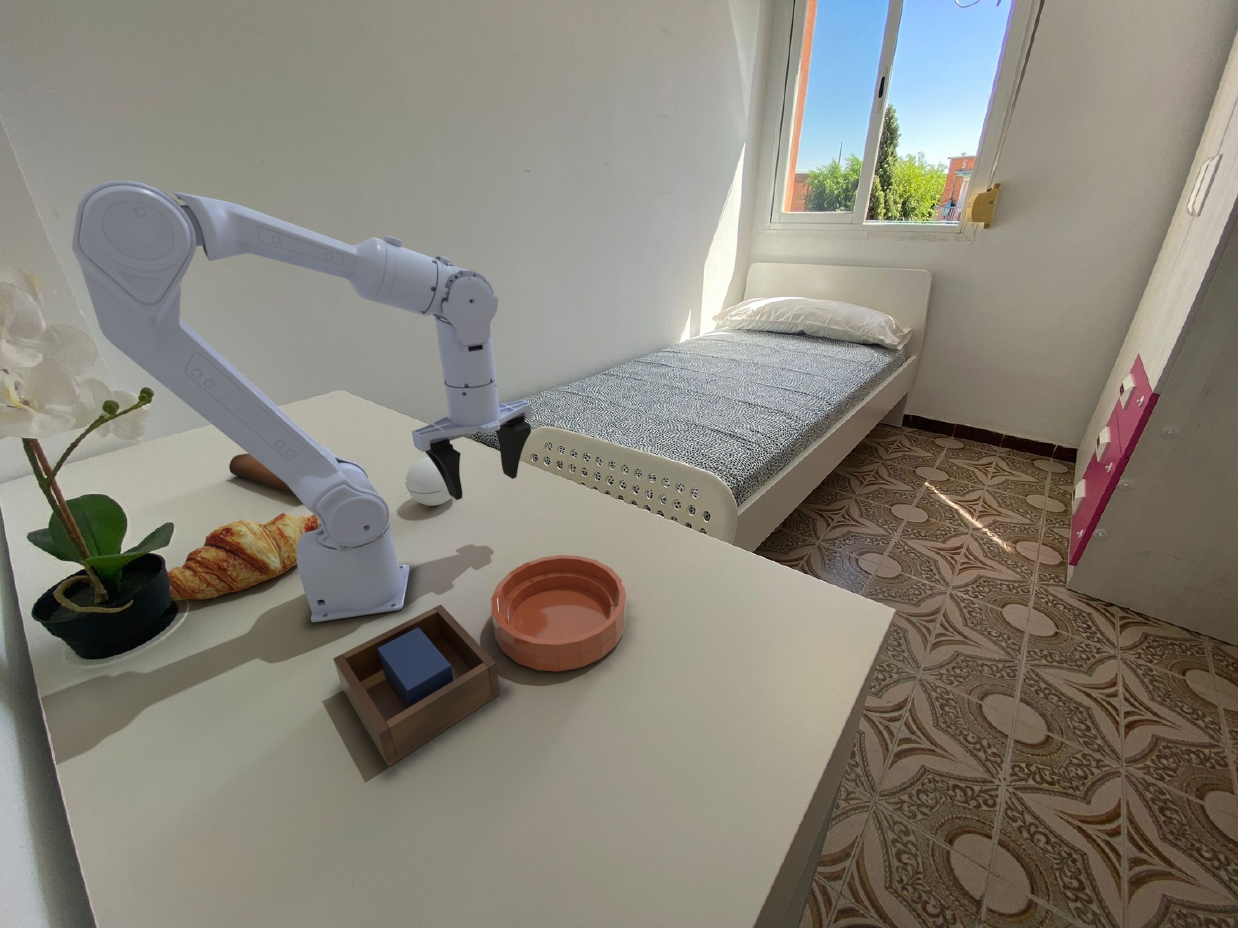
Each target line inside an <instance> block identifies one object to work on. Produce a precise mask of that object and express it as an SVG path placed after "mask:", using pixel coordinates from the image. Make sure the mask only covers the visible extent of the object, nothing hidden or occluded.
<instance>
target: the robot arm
mask: <svg viewBox="0 0 1238 928" xmlns="http://www.w3.org/2000/svg"><path fill="white" fill-rule="evenodd" d="M172 193H173V195H174V196H175V197H176V198H177V199H178V200H180V201H182V202H184V203H185V204H180V203H179V202H178V201H177V200H175V198H173V197H172V196H171V195H169V194H168V193H167V192H165V191H163V190H162V189H159V188H158V187H155V186H153V185H151V184H146V183H144V182H138V181H133V180H117V179H116V180H110V181H105V182H102V183H99V184H97V185H95V186H93V187H91V188H90V189H89V190H87V191H86V192H85V193H84V195H83V196H82V197H81V199H80V201H79V203H78V205H77V209H76V214H75V220H74V229H73V236H72V242H71V250H72V252H73V254H74V256H75V258H76V261H77V263H78V265H79V267H80V269H81V272H82V273H81V274H82V276H83V279H84V282H85V285H86V289H87V291H88V294H89V297H90V301H91V304H92V307H93V310H94V313H95V317H96V320H97V323H98V326H99V329H100V331H101V334H102V335H103V336H104V337H105V338H106V339H107V340H108V342H109V343H110V344H111V345H113V346H114V347H115V348H116V349H117V350H119V351H121V352H122V353H123V354H124V355H125V356H126V357H128V358H129V359H130V360H131V361H133V362H134V363H135V364H136V365H138V366H139V367H140V368H141V369H142V370H144V371H145V372H147V374H149V375H150V376H151V377H153V378H154V379H155V380H156V381H158V382H159V383H160V384H161V385H163V386H164V387H165V388H167V389H168V390H169V391H170V392H172V393H173V394H174V395H175V396H176V397H177V398H179V399H180V400H181V401H183V402H184V403H185V404H186V405H187V406H188V407H190V408H191V409H193V411H194V412H196V413H197V414H199V415H200V416H201V417H202V418H204V420H206V421H207V422H209V423H210V424H211V425H213V426H214V427H215V428H216V429H217V430H219V431H220V432H221V433H222V434H223V435H225V436H226V437H227V438H228V439H230V440H231V441H232V442H234V444H236V445H238V447H240V448H241V449H243V450H244V451H245V452H246V454H248V453H249V454H250V455H251V456H252V457H254V458H255V459H256V460H257V461H259V462H260V463H261V464H262V465H264V466H265V467H266V468H267V469H269V470H270V471H271V472H272V473H274V474H275V475H276V476H277V477H279V478H280V479H281V480H282V481H284V482H285V483H286V484H287V485H288V486H289V487H290V489H291V490H292V491H293V492H294V493H295V495H296V496H297V497H296V496H295V497H296V498H298V500H299V501H300V502H301V504H302V505H303V506H304V507H305V508H306V509H307V510H308V511H309V512H311V513H312V515H313V514H314V515H316V516H317V518H318V519H319V520H320V522H319V525H318V529H317V530H314V531H310V532H306V533H304V534H302V535H301V537H300V539H299V542H298V546H297V564H296V567H297V571H298V572H297V573H298V575H299V578H300V579H299V580H300V581H301V584H302V587H303V590H304V594H305V596H306V600H307V602H308V605H309V609H310V612H311V615H310V620H311V623H319V622H320V623H321V622H326V621H332V620H339V619H347V618H353V617H360V616H367V615H373V614H380V613H388V612H395V611H400V610H402V608H403V607H404V605H405V604H404V603H405V598H406V593H407V587H408V581H409V577H410V575H409V574H410V569H411V568H410V565H409V564H400V563H399V558H398V555H397V550H396V545H395V541H394V536H393V533H392V529H391V524H390V508H389V505H388V503H387V502H386V500H385V499H384V497H383V496H381V494H379V493H378V491H377V490H376V488H375V487H374V485H373V484H372V482H371V481H370V479H369V476H368V475H367V472H366V471H365V469H364V468H363V467H362V466H361V465H359V464H358V463H356V462H354V461H352V460H349V459H345V458H342V457H340V456H338V455H336V454H335V453H333V452H332V451H331V450H330V449H329V448H328V447H326V446H324V445H322V444H321V443H319V442H317V441H316V440H315V439H314V438H313V437H312V436H311V435H310V434H309V433H308V432H306V430H304V429H303V428H302V427H301V426H300V425H299V424H298V423H297V422H296V421H294V420H293V419H292V418H291V417H290V416H289V415H288V414H287V413H286V412H285V411H283V409H281V408H280V407H279V406H278V405H277V404H276V403H274V402H273V401H272V400H271V399H270V398H269V397H268V396H267V395H266V394H265V393H264V392H262V390H260V389H259V388H258V387H257V386H256V385H255V384H254V383H252V382H251V381H250V380H249V379H248V378H247V377H246V376H245V375H244V374H243V373H241V371H239V370H238V369H237V368H236V367H235V366H234V365H233V364H231V362H230V361H228V360H227V359H226V358H225V357H224V356H223V355H222V354H221V353H219V352H218V350H216V349H215V348H214V347H213V346H212V345H211V344H210V343H208V342H207V341H206V340H205V338H203V337H202V336H201V335H199V334H198V333H197V331H195V330H194V329H193V328H192V327H191V326H190V325H188V324H187V322H186V321H184V320H183V318H182V317H181V300H182V299H181V298H182V295H181V294H182V289H181V284H182V281H183V278H184V277H185V275H186V273H187V272H188V270H189V267H190V265H191V263H192V261H193V258H194V256H195V253H196V249H197V247H200V246H202V249H203V252H204V254H205V256H206V258H207V260H208V261H209V262H213V261H216V260H221V259H227V258H232V257H236V256H240V255H241V256H242V255H245V254H246V255H247V254H249V255H255V256H258V257H263V258H266V259H270V260H274V261H277V262H281V263H286V264H289V265H292V266H296V267H301V268H304V269H308V270H311V271H316V272H319V273H322V274H327V275H331V276H335V277H338V278H342V279H345V280H347V281H348V282H349V284H350V285H351V286H352V288H353V290H354V291H355V292H356V295H358V297H359V298H361V299H363V300H366V301H371V302H374V303H378V304H382V305H385V306H389V307H393V308H396V309H400V310H403V311H406V312H410V313H414V314H418V315H421V316H426V317H427V316H433V317H434V320H435V326H436V332H437V333H436V334H437V344H438V350H439V359H440V362H441V364H440V365H441V370H442V377H443V385H444V392H445V397H446V404H447V405H446V406H447V412H448V415H446V416H444V417H442V418H440V419H437V420H436V421H433V422H431V423H429V424H427V425H425V426H421V427H419V428H417V429H414V430H411V435H412V441H413V445H414V447H415V448H416V449H417V450H419V451H420V452H422V453H425V454H426V455H427V457H429V458H430V459H431V460H432V462H433V463H434V464H435V466H436V467H437V469H438V471H439V472H440V474H441V476H442V478H443V480H444V482H445V484H446V487H447V489H448V492H449V495H451V496H452V497H451V498H453V499H455V500H456V501H459V500H461V499H463V488H462V487H463V486H462V481H461V476H460V475H461V473H460V464H461V462H460V461H461V454H462V453H461V452H460V451H458V450H457V449H455V448H454V444H453V443H451V441H455V440H458V439H461V438H463V437H468V436H470V435H471V436H472V435H473V434H477V433H484V434H491V433H493V432H495V433H496V437H497V440H498V441H497V442H498V446H499V452H500V461H501V469H502V472H503V474H504V475H505V476H507V477H508V478H510V479H512V480H514V479H516V478H517V477H518V472H519V471H518V470H519V465H520V460H521V457H522V453H523V449H524V447H525V445H526V442H527V440H528V438H529V437H530V435H531V434H532V425H531V424H530V423H529V422H527V421H526V420H530V419H532V418H533V409H532V408H533V407H532V403H530V401H526V400H525V399H520V400H516V401H509V402H503V403H500V402H499V393H498V382H497V371H496V361H495V353H494V345H493V344H494V343H493V337H492V328H491V323H492V321H493V319H494V318H495V316H496V313H497V310H498V307H499V298H498V296H496V295H495V294H494V290H493V288H492V285H491V284H490V282H489V281H487V280H486V277H485V276H483V275H482V274H480V273H479V272H476V271H474V270H469V269H466V268H462V267H459V266H456V265H454V264H453V263H450V261H451V260H450V259H449V257H446V256H443V255H440V254H437V255H436V256H435V257H432V256H428V255H426V254H423V253H421V252H417V251H414V250H412V249H409V248H407V247H403V246H402V245H403V240H402V239H400V238H397V237H395V236H392V235H388V234H387V235H386V234H385V235H384V237H383V239H381V238H379V237H375V236H371V237H369V238H367V239H366V238H365V240H363V241H361V242H358V243H356V244H354V245H353V244H350V243H347V242H344V241H341V240H338V239H335V238H333V237H331V236H327V235H325V234H321V233H319V232H316V231H313V230H311V229H307V228H305V227H302V226H299V225H296V224H294V223H291V222H288V221H285V220H282V219H280V218H277V217H274V216H272V215H269V214H266V213H263V212H260V211H257V210H255V209H253V208H249V207H246V206H244V205H240V204H239V203H234V202H230V201H227V200H222V199H217V198H213V197H212V198H211V197H206V196H201V195H197V194H190V193H185V192H179V191H175V190H173V191H172ZM399 564H400V565H399Z"/></svg>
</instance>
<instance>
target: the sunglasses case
mask: <svg viewBox="0 0 1238 928" xmlns="http://www.w3.org/2000/svg"><path fill="white" fill-rule="evenodd" d="M228 469H229V473H231V474H232V475H233V476H237V477H239V478H244V479H248V480H250V481H255V482H257V483H259V484H262V485H265V486H268V487H271V488H273V489H276V490H277V491H281V492H283V493H286V494H289V495H291V496H294V497H296V498H298V497H297V496H296V495H295V493H294V492H293V491H292V490H291V489H290V487H289V486H288V485H287V484H286V483H285V482H284V481H282V480H281V479H280V478H279V477H277V476H276V475H275V474H274V473H272V472H271V471H270V470H269V469H267V468H266V467H265V466H264V465H262V464H261V463H260V462H259V461H257V460H256V459H255V458H254V457H252V456H251V455H250V454H249V453H241V454H236V455H235V456H233V457H232V458H231V459H230V462H229V466H228Z"/></svg>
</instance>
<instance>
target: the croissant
mask: <svg viewBox="0 0 1238 928" xmlns="http://www.w3.org/2000/svg"><path fill="white" fill-rule="evenodd" d="M319 522H320V520H319V519H318V518H317V516H316V515H314V514H313V513H312V515H311V516H310V515H309V516H303V515H298V516H297V515H296V516H294V515H292V514H287V513H284V512H282V513H280V514H279V515H276V516H275V517H274V518H273V519H269V520H268V521H267V522H266V523H263V522H258V521H257V522H256V521H255V520H253V519H242V520H239V521H232V522H231V523H227V524H224V525H221V526H219V527H217V528H216V529H214V530H213V531H211V532H210V533H209V534H208V535H206V536H205V541H204V543H203V546H201V547H198V548H195V550H192V551H190V552H189V553H188V554H187V557H186V558H185V562H184V564H183V565H182V566H176V567H172V569H170V570H168V571H167V572H166V573H168V576H169V579H170V587H171V596H172V597H173V600H172V601H181V600H182V601H184V600H198V601H199V600H209V599H215V598H217V597H220V596H222V595H226V594H228V593H235V592H240V591H243V590H247V589H250V588H252V587H256V585H258V584H261V583H263V582H266V581H268V580H270V579H274V578H276V577H278V576H280V575H282V574H284V573H286V572H287V571H288V570H290V569H291V568H293V567H294V566H297V546H298V542H299V539H300V537H301V535H302V534H304V533H306V532H310V531H314V530H317V529H318V525H319Z"/></svg>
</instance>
